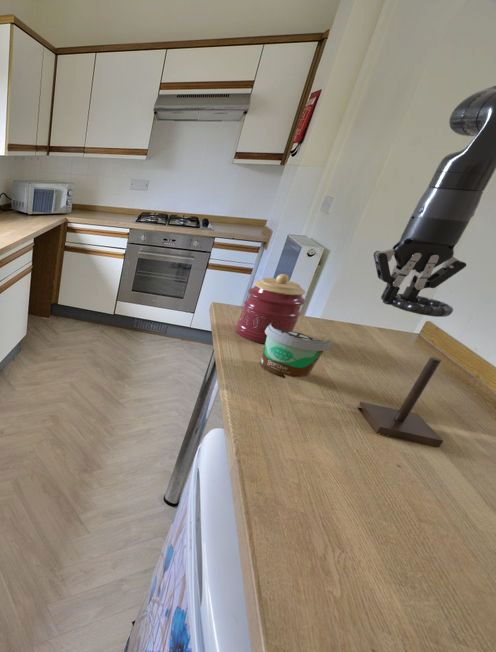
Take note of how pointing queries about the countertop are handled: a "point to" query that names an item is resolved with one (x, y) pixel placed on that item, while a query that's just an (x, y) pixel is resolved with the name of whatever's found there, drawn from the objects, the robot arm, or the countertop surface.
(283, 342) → the food container
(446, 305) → the dark grey ring
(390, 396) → the countertop surface
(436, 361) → the brown peg stand
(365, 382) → the countertop surface
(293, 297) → the kitchen canister
